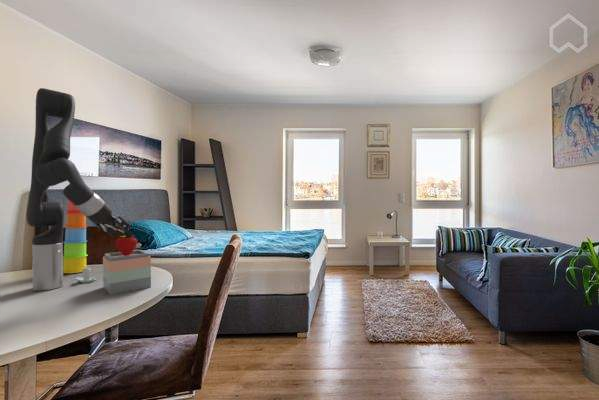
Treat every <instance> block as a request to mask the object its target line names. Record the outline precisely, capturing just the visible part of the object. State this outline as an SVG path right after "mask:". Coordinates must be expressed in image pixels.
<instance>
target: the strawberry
mask: <svg viewBox="0 0 599 400" xmlns="http://www.w3.org/2000/svg"><path fill="white" fill-rule="evenodd" d="M119 237H120V238H117V239H116V240H115V246H116V249H117V250H118V252H121V253H122V254H123V255H124V256H127V255H130V254H131V253H132V251H134V250H136V249H135V248H137V244H138V239H137V238H136V237H134V235H133V236H132V237H131V238H127V237H126V236H125V235H121V236H120V235H119Z"/></svg>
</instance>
